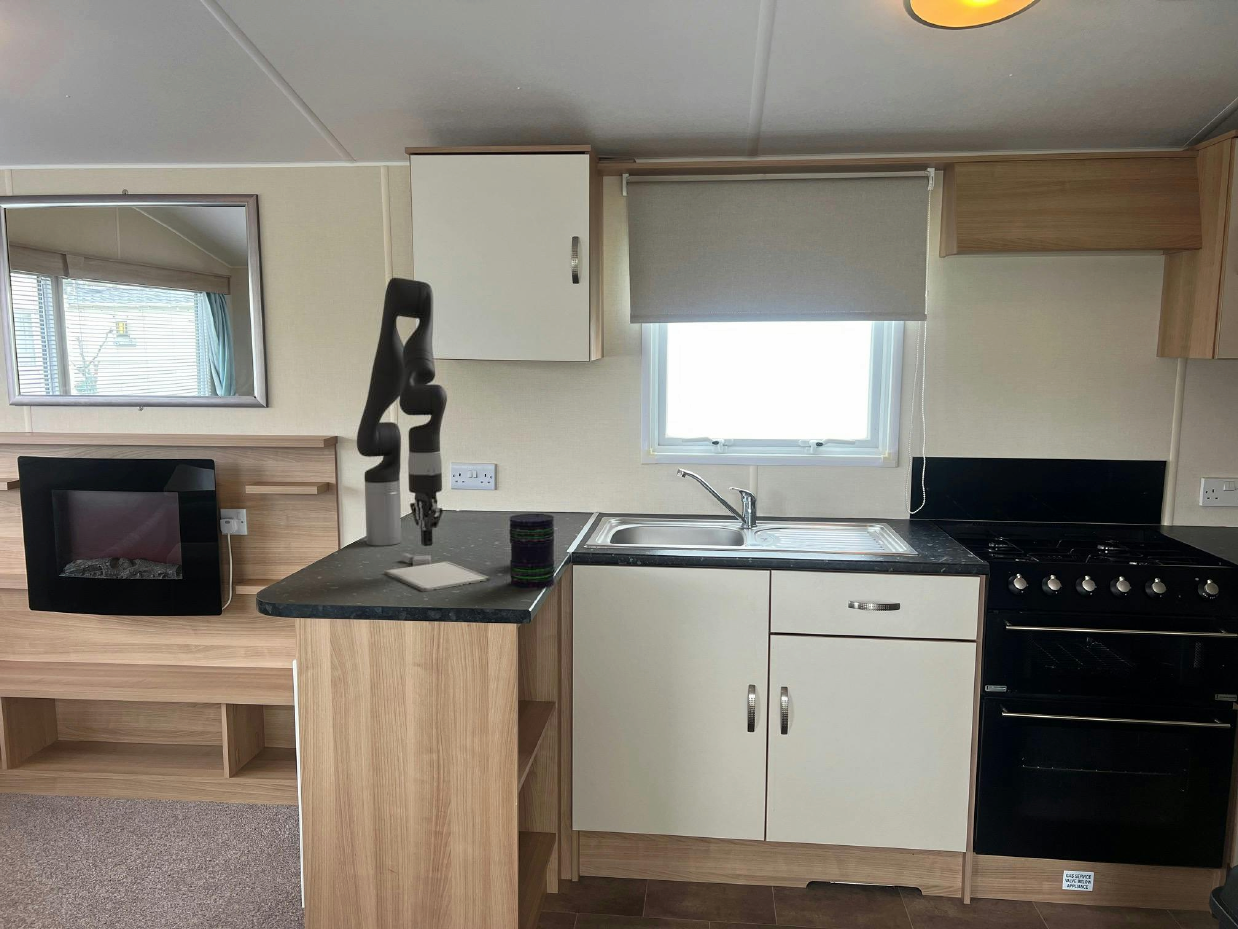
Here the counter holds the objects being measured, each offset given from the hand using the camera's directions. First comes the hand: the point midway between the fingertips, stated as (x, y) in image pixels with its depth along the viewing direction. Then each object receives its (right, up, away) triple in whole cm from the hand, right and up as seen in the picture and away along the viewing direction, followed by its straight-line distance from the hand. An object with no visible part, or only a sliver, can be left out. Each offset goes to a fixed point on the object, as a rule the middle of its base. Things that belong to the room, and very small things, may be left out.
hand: (426, 545), depth 194 cm
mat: (+3, -7, -3) cm, 8 cm away
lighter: (-5, -5, +7) cm, 10 cm away
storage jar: (+25, -8, -9) cm, 28 cm away
